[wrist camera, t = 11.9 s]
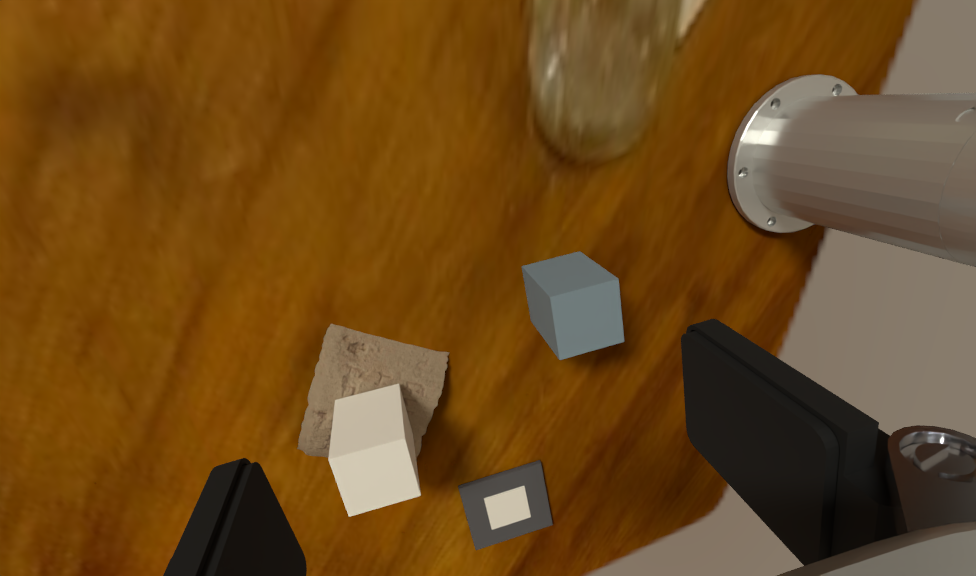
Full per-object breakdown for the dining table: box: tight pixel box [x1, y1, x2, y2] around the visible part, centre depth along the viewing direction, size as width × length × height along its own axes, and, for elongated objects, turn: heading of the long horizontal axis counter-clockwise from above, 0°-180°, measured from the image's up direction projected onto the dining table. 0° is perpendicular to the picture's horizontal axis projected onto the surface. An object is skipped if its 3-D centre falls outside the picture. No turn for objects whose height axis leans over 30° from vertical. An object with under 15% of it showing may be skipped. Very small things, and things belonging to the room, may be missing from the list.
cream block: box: [328, 384, 421, 517], centre depth 36 cm, size 5×5×7 cm
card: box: [458, 460, 553, 550], centre depth 48 cm, size 8×8×1 cm
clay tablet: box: [297, 324, 449, 462], centre depth 41 cm, size 14×10×3 cm
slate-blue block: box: [522, 251, 624, 360], centre depth 38 cm, size 5×5×7 cm
